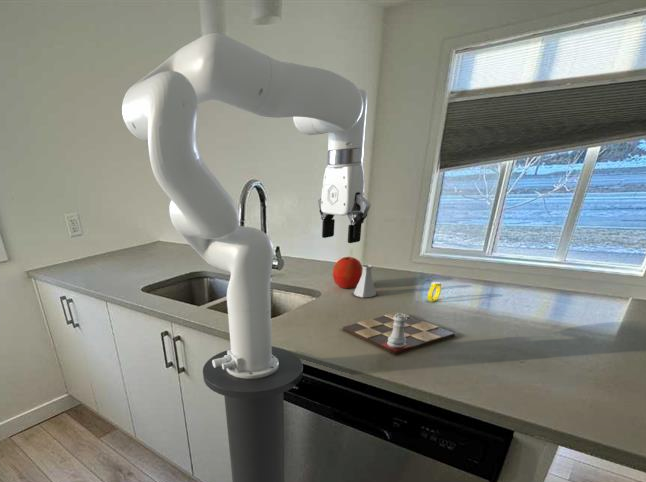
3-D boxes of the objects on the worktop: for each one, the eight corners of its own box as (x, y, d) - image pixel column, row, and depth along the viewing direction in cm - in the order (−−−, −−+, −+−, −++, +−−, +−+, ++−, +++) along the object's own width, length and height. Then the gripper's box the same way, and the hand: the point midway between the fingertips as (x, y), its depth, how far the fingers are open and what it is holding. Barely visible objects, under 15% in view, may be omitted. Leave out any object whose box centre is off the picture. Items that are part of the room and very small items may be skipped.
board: (395, 355, 99) (396, 350, 98) (342, 330, 115) (343, 326, 115) (454, 336, 105) (455, 332, 105) (396, 315, 122) (397, 311, 121)
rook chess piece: (407, 348, 99) (412, 318, 95) (388, 348, 100) (392, 318, 96) (403, 341, 103) (408, 311, 99) (385, 341, 104) (389, 311, 100)
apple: (327, 289, 150) (329, 257, 144) (339, 282, 156) (341, 251, 150) (353, 292, 144) (356, 259, 138) (365, 285, 150) (368, 253, 144)
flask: (367, 290, 144) (370, 262, 140) (380, 295, 138) (383, 266, 133) (349, 293, 143) (351, 265, 138) (361, 299, 137) (364, 269, 132)
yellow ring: (432, 304, 127) (436, 285, 124) (424, 302, 129) (427, 284, 126) (441, 299, 130) (444, 281, 128) (432, 297, 132) (436, 279, 129)
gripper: (308, 161, 95) (306, 237, 103) (357, 159, 81) (351, 247, 89) (334, 158, 97) (330, 233, 105) (386, 155, 83) (378, 241, 91)
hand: (340, 239), depth 97 cm, fingers open, 9 cm apart
